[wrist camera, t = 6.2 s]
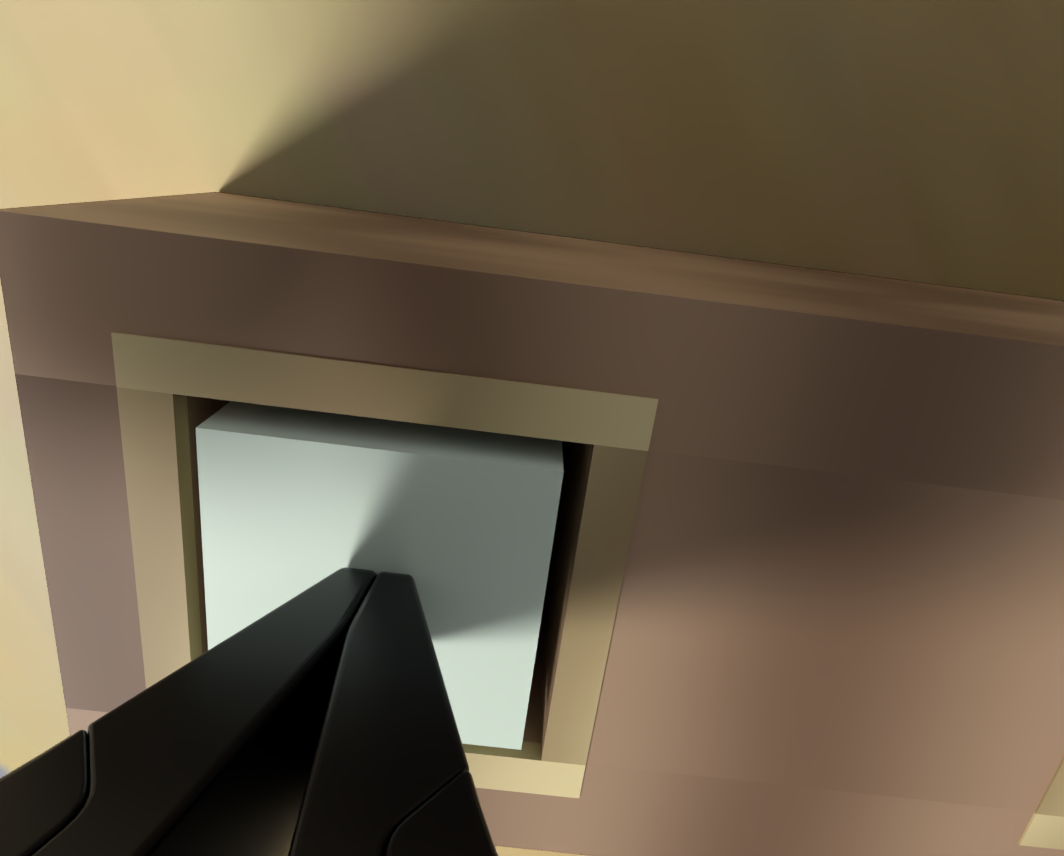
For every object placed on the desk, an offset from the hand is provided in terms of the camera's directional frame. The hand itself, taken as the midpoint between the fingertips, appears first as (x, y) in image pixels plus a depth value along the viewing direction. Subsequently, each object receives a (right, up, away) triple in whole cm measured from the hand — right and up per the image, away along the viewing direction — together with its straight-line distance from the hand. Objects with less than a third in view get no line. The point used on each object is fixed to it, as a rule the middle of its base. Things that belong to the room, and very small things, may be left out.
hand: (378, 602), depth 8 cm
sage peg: (0, +2, +4) cm, 5 cm away
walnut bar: (+6, +1, +5) cm, 8 cm away
